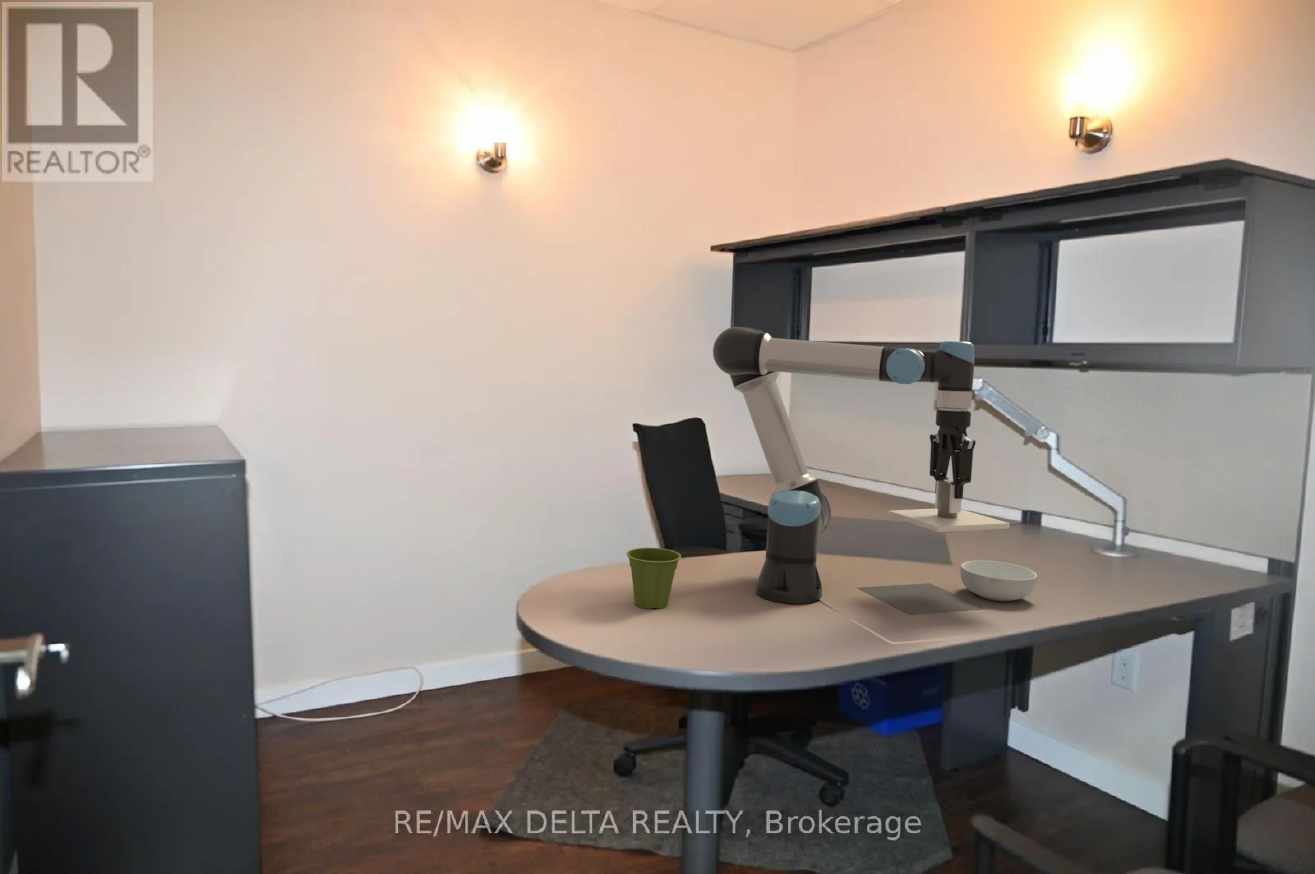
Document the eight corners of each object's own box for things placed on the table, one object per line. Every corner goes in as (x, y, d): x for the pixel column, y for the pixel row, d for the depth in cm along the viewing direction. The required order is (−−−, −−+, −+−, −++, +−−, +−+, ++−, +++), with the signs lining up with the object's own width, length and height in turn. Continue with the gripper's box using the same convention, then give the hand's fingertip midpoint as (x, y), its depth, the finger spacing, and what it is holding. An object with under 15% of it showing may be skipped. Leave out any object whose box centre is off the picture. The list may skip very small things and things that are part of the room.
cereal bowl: (945, 595, 205) (948, 566, 204) (976, 584, 217) (979, 556, 216) (1017, 613, 193) (1020, 582, 192) (1045, 600, 205) (1048, 571, 204)
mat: (909, 616, 186) (909, 614, 186) (856, 589, 206) (856, 587, 206) (988, 611, 194) (988, 608, 193) (929, 585, 213) (929, 583, 213)
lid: (937, 532, 187) (940, 490, 186) (888, 515, 205) (890, 477, 204) (1009, 528, 193) (1012, 487, 192) (955, 512, 211) (957, 475, 210)
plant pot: (620, 610, 182) (622, 558, 181) (629, 594, 194) (631, 545, 192) (675, 615, 180) (678, 562, 179) (681, 599, 192) (684, 549, 191)
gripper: (993, 412, 189) (986, 517, 191) (943, 406, 205) (938, 503, 208) (964, 412, 187) (958, 518, 189) (916, 406, 203) (911, 504, 205)
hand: (947, 510), depth 198 cm, fingers closed on lid, 4 cm apart
